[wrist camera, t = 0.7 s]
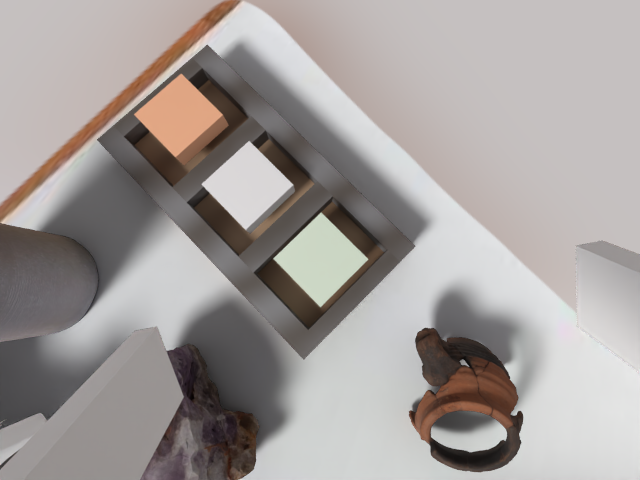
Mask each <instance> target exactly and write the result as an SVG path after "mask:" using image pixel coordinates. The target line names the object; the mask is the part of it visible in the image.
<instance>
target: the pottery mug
mask: <svg viewBox="0 0 640 480" xmlns="http://www.w3.org/2000/svg"><path fill="white" fill-rule="evenodd" d="M415 342H416V348H417V351H418V354H419V356H420V358H421V361H422V363H423V366H422V371H423V373H422V374H423V377H424V378H425V379H426V380H427V382H428V383H429V384H430V385H432V386H436V387H437V386H440V389H439V391H438V392H437V393H436V394H434V392H432V391H431V390H428V391H427V392H426V393H425V395H424V397H423V398H422V400H421V402H420V403H419V405H418V409H417V412H416V413H414V412H413V411H409V413H410V414H409V417H410V419H411V422H412V424H413V426H414V428H415V429H416V430H417V432H418V433H419V434H420V436H421V439H422V440H425V441H426V442H427V443H428V444H429V445H430V447H431V455H432V457H433V458H435V459H436V460H437V461H439V462H441V463H443V464H445V465H447V466H449V467H451V468H454V469H457V470H462V471H471V472H483V471H491V470H495V469H498V468H501V467H503V466H505V465H506V464H508V463H509V461H511V460H512V459H513V458H514V456H515V455H516V454H517V452H518V450H519V448H520V444H521V440H520V437H519V433H520V430H521V426H522V423H523V414H522V412H521V411H518V413H517V415H515V416H512V415H510V414H511V412H512V411H513V410H514V407H515V406H516V404H517V401H518V395H517V392H516V387H515V386H514V384H513V383H512V382H511V380H510V376H509V374H508V372H507V370H506V369H505V367H504V366H503V364H502V362H501V361H500V360H499V359H498V358H497V357H496V356H495V355H494V354H493V353H492V352H491V351H490V350H489V349H488V348H487V347H485V346H484V345H482V344H481V343H479V342H477V341H474V340H471V339H468V338H462V337H460V338H447V342H446V341H444V340H443V339H441V337H440V336H439V334H438V332H437V331H436V330H435V329H434V328H424V329H422V331H419V332H418V333H417V336H416V339H415ZM462 359H464V360H465V362H466V363H467V364H468V365H469V367H468V366H465V365H461V363H460V362H459V361H460V360H462ZM453 411H476V412H480V413H484V414H486V415H490V416H491V417H493V418H494V419H496V420H497V421H499V422H500V423H501V424H502V425H503V426H504V427H505V429H506V431H507V439H506V441H504V440H502V441H500V443H499V444H498V445H497V446H495V447H493V448H491V449H489V450H483V451H476V452H468V451H464V450H457V449H452V448H448V447H446V446H443V445H442V444H440V443H438V442H437V441H435V440H434V439H433V438H431V427H432V425H433V424H434V422H435V421H436V420H437V419H439V418H440V417H441V416H443V415H444V414H446V413H448V412H453Z"/></svg>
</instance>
